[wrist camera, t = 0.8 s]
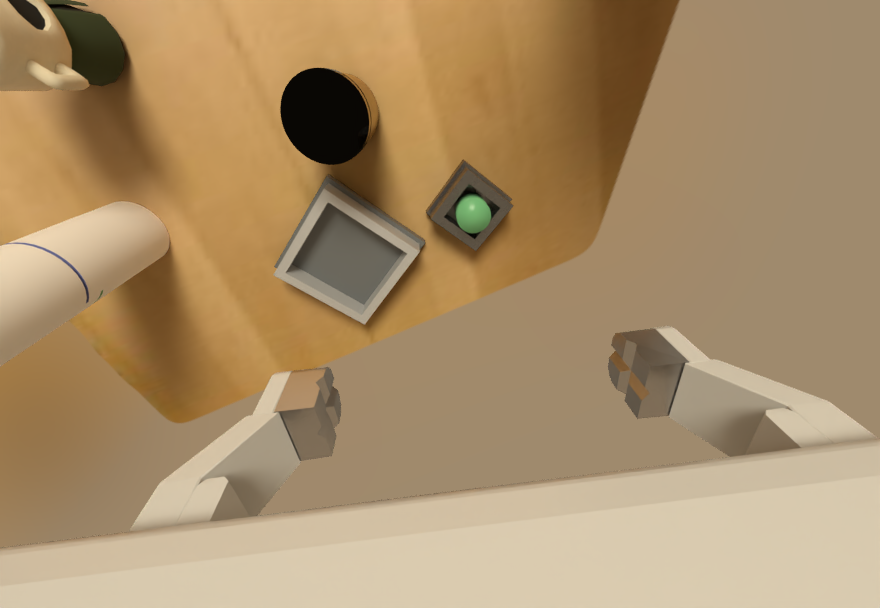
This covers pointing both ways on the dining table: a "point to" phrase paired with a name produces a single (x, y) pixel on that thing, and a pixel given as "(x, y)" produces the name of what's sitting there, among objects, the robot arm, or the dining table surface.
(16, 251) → the cylindrical container
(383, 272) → the square shallow tray
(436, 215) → the button housing
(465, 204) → the button
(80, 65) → the character mug
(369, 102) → the supplement container
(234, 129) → the dining table surface
